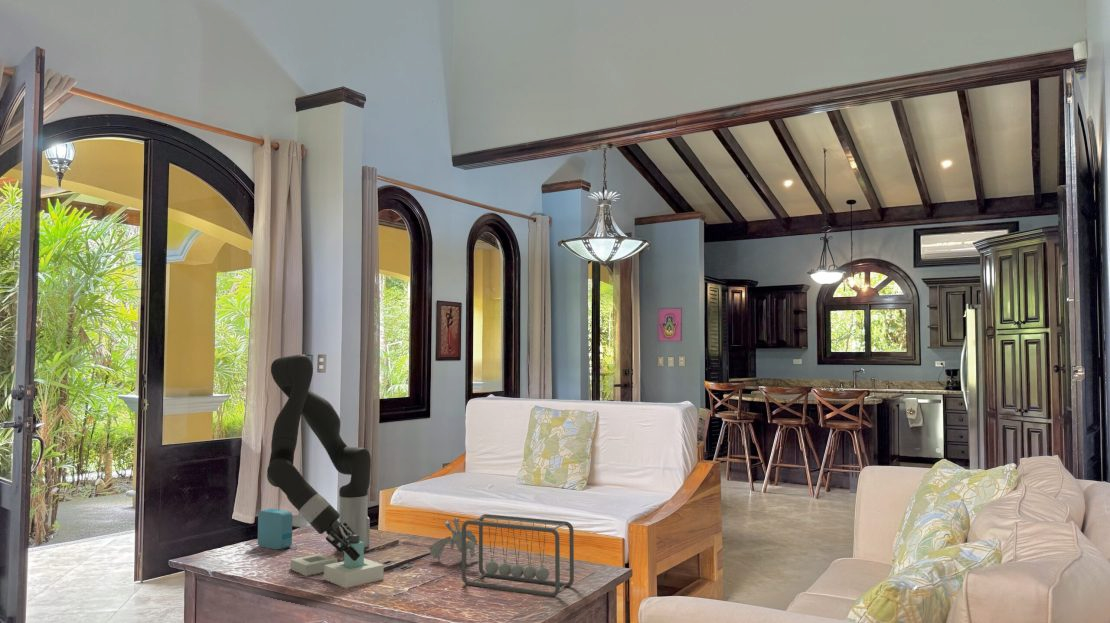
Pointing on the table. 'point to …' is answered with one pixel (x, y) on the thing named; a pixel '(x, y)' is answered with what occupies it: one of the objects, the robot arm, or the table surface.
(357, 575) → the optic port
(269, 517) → the data package
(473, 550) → the fairy figurine
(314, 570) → the holster
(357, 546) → the plug
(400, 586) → the table surface
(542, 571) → the newton's cradle
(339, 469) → the robot arm
